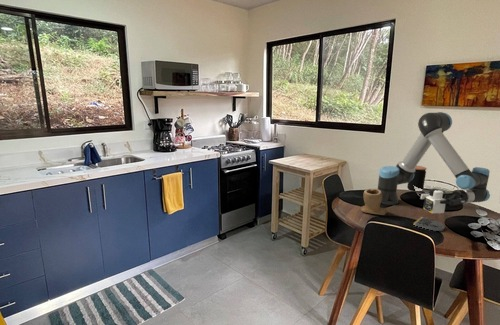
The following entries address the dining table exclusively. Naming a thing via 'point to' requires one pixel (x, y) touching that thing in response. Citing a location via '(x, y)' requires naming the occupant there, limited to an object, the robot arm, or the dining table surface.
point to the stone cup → (373, 202)
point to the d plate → (429, 224)
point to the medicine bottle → (430, 200)
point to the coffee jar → (418, 178)
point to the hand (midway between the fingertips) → (427, 199)
